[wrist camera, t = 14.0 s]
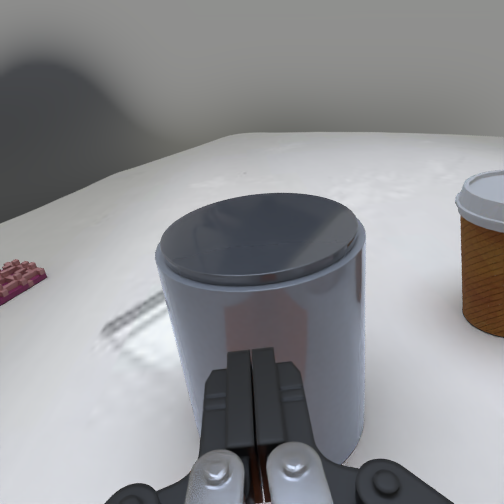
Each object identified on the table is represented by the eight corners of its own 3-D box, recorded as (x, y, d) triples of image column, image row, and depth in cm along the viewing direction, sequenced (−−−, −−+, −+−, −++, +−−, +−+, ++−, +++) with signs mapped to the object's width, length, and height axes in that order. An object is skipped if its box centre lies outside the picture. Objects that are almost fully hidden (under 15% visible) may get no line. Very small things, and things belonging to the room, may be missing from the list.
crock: (163, 430, 30) (108, 249, 23) (261, 337, 38) (241, 183, 31) (308, 527, 23) (288, 307, 16) (390, 387, 31) (399, 203, 24)
